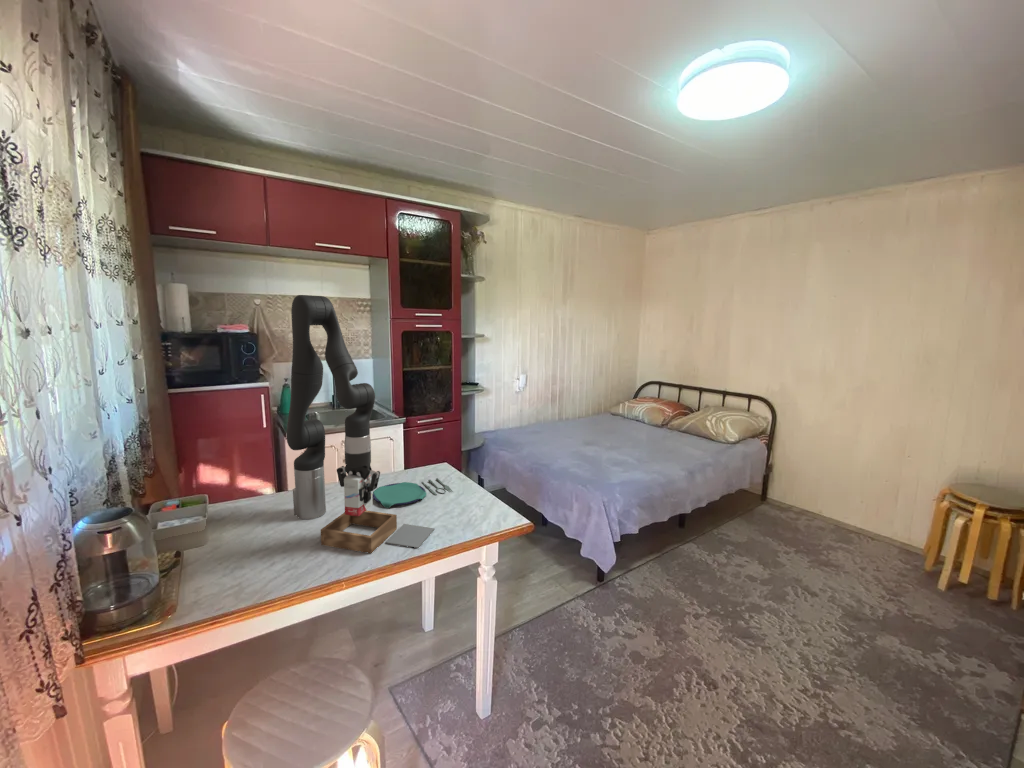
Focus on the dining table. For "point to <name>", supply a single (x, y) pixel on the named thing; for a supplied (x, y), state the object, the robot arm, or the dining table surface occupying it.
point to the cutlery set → (403, 493)
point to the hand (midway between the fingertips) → (358, 500)
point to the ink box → (355, 496)
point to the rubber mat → (410, 535)
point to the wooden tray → (359, 542)
